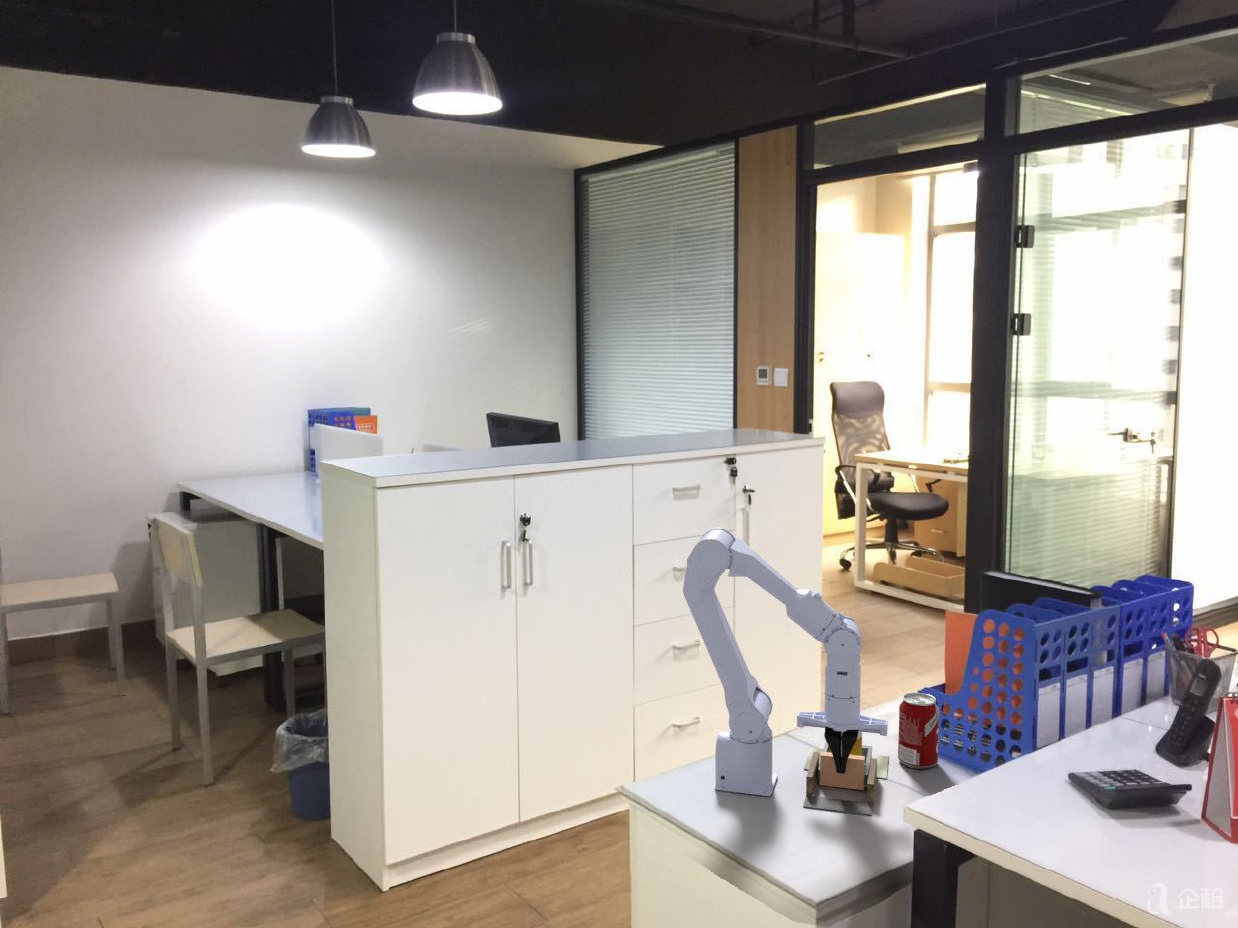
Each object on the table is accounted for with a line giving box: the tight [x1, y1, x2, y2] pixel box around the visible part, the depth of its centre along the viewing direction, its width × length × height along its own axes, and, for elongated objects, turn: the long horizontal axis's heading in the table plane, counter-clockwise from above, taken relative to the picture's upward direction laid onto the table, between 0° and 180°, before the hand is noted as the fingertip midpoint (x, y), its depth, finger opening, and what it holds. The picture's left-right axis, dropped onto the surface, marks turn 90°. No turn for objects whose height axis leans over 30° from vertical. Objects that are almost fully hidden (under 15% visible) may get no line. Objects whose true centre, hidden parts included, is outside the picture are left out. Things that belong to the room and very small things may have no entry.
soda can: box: [897, 692, 940, 770], centre depth 180 cm, size 7×7×12 cm
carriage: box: [817, 741, 873, 791], centre depth 177 cm, size 8×14×5 cm, turn 163°
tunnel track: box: [802, 747, 890, 817], centre depth 174 cm, size 14×23×4 cm, turn 163°
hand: (841, 770), depth 169 cm, fingers closed, pressing on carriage
